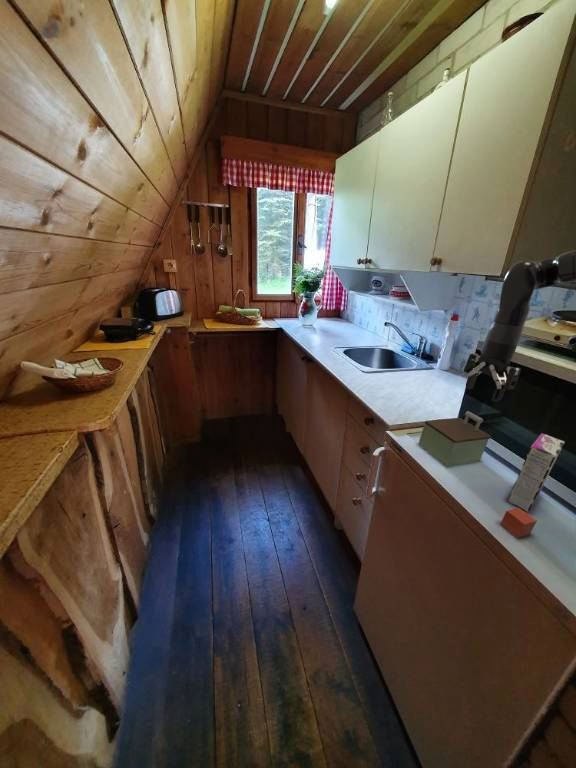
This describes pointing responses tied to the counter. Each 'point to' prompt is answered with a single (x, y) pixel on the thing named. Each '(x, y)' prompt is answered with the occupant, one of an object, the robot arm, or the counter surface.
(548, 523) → the counter surface
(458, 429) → the lid
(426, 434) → the lidded olive box
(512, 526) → the block
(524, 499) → the candy bar box
